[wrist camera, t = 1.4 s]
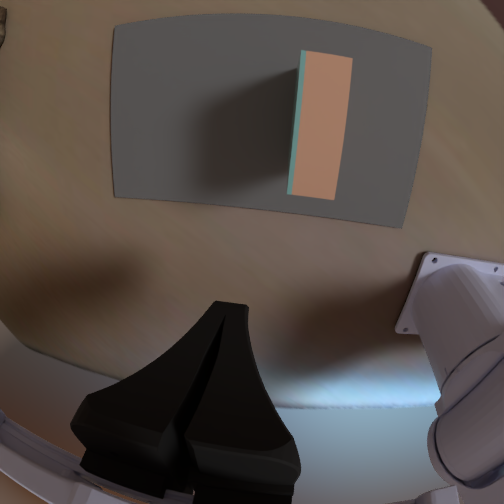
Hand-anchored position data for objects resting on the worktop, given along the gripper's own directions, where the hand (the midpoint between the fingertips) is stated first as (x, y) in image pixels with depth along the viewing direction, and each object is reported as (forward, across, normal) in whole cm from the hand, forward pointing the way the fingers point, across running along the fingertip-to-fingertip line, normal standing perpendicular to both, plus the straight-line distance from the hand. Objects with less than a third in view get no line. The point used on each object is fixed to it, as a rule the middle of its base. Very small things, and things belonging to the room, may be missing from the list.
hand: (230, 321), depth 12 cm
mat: (+10, 0, -8) cm, 13 cm away
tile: (+10, -3, -8) cm, 13 cm away
